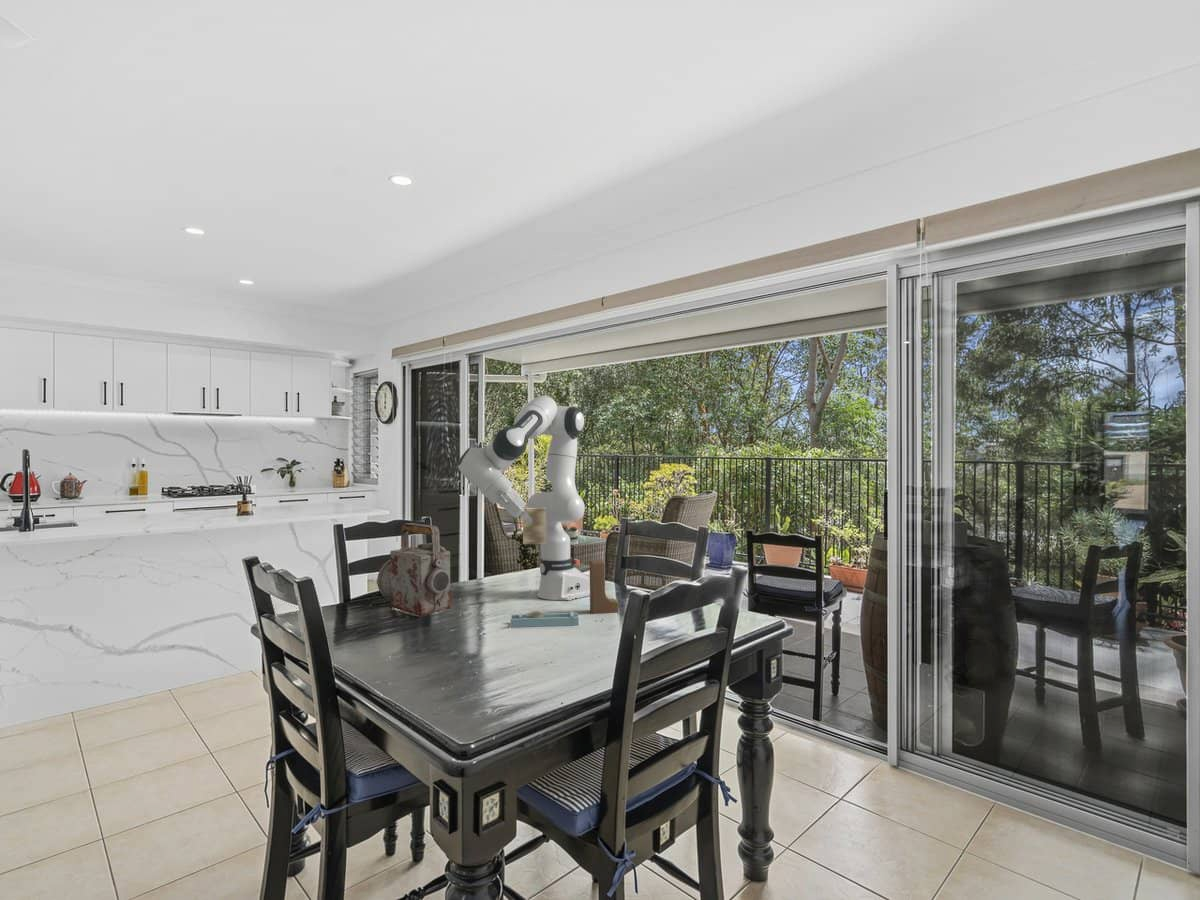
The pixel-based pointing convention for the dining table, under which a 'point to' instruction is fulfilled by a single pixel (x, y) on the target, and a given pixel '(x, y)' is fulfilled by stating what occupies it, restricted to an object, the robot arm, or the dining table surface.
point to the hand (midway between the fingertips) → (531, 521)
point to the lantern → (417, 574)
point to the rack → (545, 621)
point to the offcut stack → (534, 614)
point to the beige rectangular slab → (535, 526)
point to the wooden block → (600, 590)
